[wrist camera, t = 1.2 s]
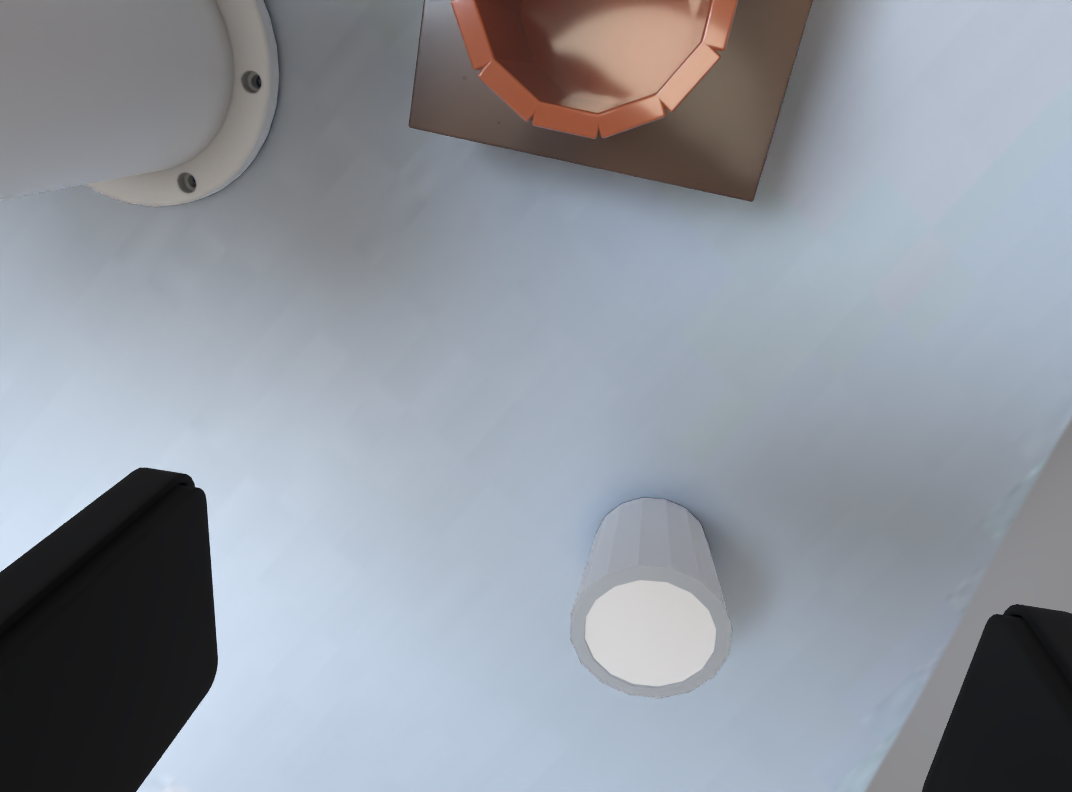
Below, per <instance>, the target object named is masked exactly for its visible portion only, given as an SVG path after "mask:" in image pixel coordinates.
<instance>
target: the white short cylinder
mask: <svg viewBox="0 0 1072 792" xmlns="http://www.w3.org/2000/svg"><path fill="white" fill-rule="evenodd" d="M731 635H732V626H731V623H730V619H729V616H728V612H727V609H726V605H725V602H724V598H723V595H722V591H721V588H720V584H719V581H718V577H717V574H716V570H715V567H714V563H713V560H712V556H711V553H710V549H709V546H708V542H707V539H706V537H705V534H704V531H703V529H702V526H701V523H700V522H699V521H698V520H697V519H696V518H695V517H694V516H693V515H692V514H691V513H690V512H689V511H688V510H687V509H686V508H684V507H682V506H680V505H677V504H675V503H673V502H671V501H668V500H666V499H656V498H639V499H636V500H632V501H629V502H625V503H622V504H620V505H619V506H618V507H616V508H615V509H614V510H613V511H611V512H610V513H609V514H607V515H606V516H605V518H604V519H603V521H602V523H601V525H600V527H599V529H598V531H597V532H596V535H595V539H594V542H593V545H592V548H591V551H590V554H589V558H588V561H587V564H586V567H585V570H584V574H583V577H582V580H581V583H580V586H579V589H578V593H577V596H576V599H575V602H574V605H573V609H572V612H571V629H570V640H571V642H572V644H573V646H574V649H575V651H576V653H577V655H578V658H579V660H580V662H581V664H582V665H583V666H584V667H586V668H587V669H588V670H589V671H590V672H591V673H592V674H593V675H594V676H595V677H596V678H597V679H598V680H599V681H601V682H602V683H603V684H606V685H608V686H610V687H613V688H615V689H617V690H619V691H622V692H624V693H626V694H628V695H634V696H643V697H653V698H664V697H669V696H674V695H678V694H683V693H688V692H691V691H692V690H694V689H696V688H697V687H699V686H700V685H702V684H704V683H705V682H707V681H708V680H710V679H712V678H713V677H714V676H715V675H716V673H717V672H718V670H719V669H720V667H721V666H722V664H723V663H724V662H725V660H726V659H727V657H728V656H729V651H730V643H731Z"/></svg>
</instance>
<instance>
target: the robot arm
mask: <svg viewBox="0 0 1072 792" xmlns="http://www.w3.org/2000/svg"><path fill="white" fill-rule="evenodd" d="M258 76H259V77H260V79H261V87H258V85H257V83H256V79H257V77H258ZM278 85H279V68H278V53H277V45H276V41H275V36H274V32H273V28H272V24H271V19H270V16H269V13H268V11H267V8H266V6H265V3H264V1H263V0H0V200H5V199H10V198H15V197H20V196H26V195H31V194H36V193H42V192H47V191H53V190H58V189H63V188H69V187H74V186H80V185H86V186H88V187H90V188H92V189H94V190H96V191H97V192H99V193H101V194H103V195H105V196H108V197H111V198H114V199H117V200H120V201H123V202H126V203H129V204H136V205H144V206H152V207H159V206H171V205H180V204H184V203H188V202H192V201H196V200H200V199H202V198H204V197H207V196H209V195H211V194H213V193H216V192H218V191H220V190H222V189H223V188H225V187H226V186H227V185H229V184H230V183H231V182H233V181H234V180H235V179H237V178H238V177H239V176H240V175H241V174H242V173H243V172H244V171H245V169H246V168H247V167H248V166H249V165H250V164H251V162H252V161H253V160H254V159H255V158H256V156H257V154H258V152H259V151H260V149H261V147H262V145H263V143H264V141H265V139H266V137H267V135H268V133H269V130H270V127H271V123H272V120H273V116H274V113H275V110H276V104H277V95H278ZM193 177H194V179H195V181H196V184H195V183H194V181H193ZM217 666H218V655H217V641H216V627H215V613H214V599H213V585H212V571H211V557H210V543H209V529H208V515H207V501H206V496H205V493H204V491H203V490H202V489H200V488H196V487H195V484H194V482H193V480H192V478H191V477H190V476H189V475H187V474H183V473H176V472H170V471H164V470H157V469H151V468H138V469H136V470H134V471H133V472H131V473H130V474H129V475H128V476H126V477H125V478H124V479H122V480H121V481H120V482H118V483H117V484H116V485H114V486H113V487H112V488H110V489H109V490H108V491H106V492H105V493H104V494H103V495H101V496H100V497H99V498H97V499H96V500H95V501H93V502H92V503H91V504H89V505H88V506H87V507H85V508H84V509H83V510H82V511H80V512H79V513H78V514H76V515H75V516H74V517H72V518H71V519H70V520H68V521H67V522H66V523H64V524H63V525H62V526H60V527H59V528H58V529H57V530H55V531H54V532H53V533H51V534H50V535H49V536H47V537H46V538H45V539H43V540H42V541H41V542H39V543H38V544H37V545H36V546H34V547H33V548H32V549H30V550H29V551H28V552H26V553H25V554H24V555H22V556H21V557H20V558H18V559H17V560H16V561H14V562H13V563H12V564H11V565H9V566H8V567H7V568H5V569H4V570H3V571H1V572H0V792H136V791H137V790H138V788H139V787H140V786H141V784H142V783H143V782H144V780H145V779H146V777H147V776H148V775H149V773H150V772H151V770H152V769H153V768H154V766H155V765H156V763H157V762H158V761H159V759H160V758H161V757H162V755H163V754H164V752H165V751H166V750H167V748H168V747H169V745H170V744H171V743H172V741H173V740H174V738H175V737H176V736H177V734H178V733H179V732H180V730H181V729H182V727H183V726H184V725H185V723H186V722H187V720H188V719H189V718H190V716H191V715H192V714H193V712H194V711H195V709H196V708H197V707H198V705H199V704H200V702H201V701H202V700H203V698H204V697H205V695H206V694H207V693H208V691H209V689H210V688H211V686H212V683H213V681H214V678H215V675H216V671H217ZM922 792H1072V614H1071V613H1068V612H1063V611H1056V610H1050V609H1044V608H1038V607H1032V606H1024V605H1018V604H1016V605H1012V606H1010V607H1009V608H1008V609H1007V610H1006V611H1005V612H1004V614H1003V615H999V614H996V615H993V616H992V617H990V618H989V620H988V621H987V624H986V625H985V628H984V630H983V633H982V636H981V638H980V641H979V643H978V646H977V649H976V651H975V654H974V656H973V659H972V661H971V664H970V667H969V669H968V672H967V674H966V677H965V679H964V682H963V685H962V687H961V690H960V693H959V695H958V698H957V700H956V703H955V705H954V708H953V710H952V713H951V716H950V718H949V721H948V723H947V726H946V728H945V731H944V734H943V736H942V739H941V741H940V744H939V747H938V749H937V752H936V754H935V757H934V760H933V762H932V765H931V767H930V770H929V772H928V775H927V777H926V780H925V783H924V786H923V790H922Z"/></svg>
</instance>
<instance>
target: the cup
mask: <svg viewBox="0 0 1072 792" xmlns="http://www.w3.org/2000/svg"><path fill="white" fill-rule="evenodd" d="M737 4H738V0H452V1H451V6H452V9H453V12H454V15H455V18H456V21H457V24H458V27H459V30H460V33H461V35H462V38H463V41H464V44H465V47H466V50H467V53H468V56H469V59H470V62H471V65H472V68H473V69H474V70H480V72H479V74H478V77H479V79H480V80H481V81H482V82H484V83H485V84H486V85H487V86H488V87H489V88H490V89H491V90H492V91H493V92H494V93H495V94H496V95H497V96H499V97H500V98H501V99H502V100H503V101H504V102H505V103H506V104H507V105H508V106H509V107H510V108H511V109H513V110H514V111H515V112H516V113H517V114H518V115H519V116H520V117H521V118H522V119H523V120H524V121H526V122H528V121H531V120H533V121H532V124H533V125H534V126H536V127H541V128H546V129H550V130H555V131H560V132H564V133H569V134H574V135H578V136H583V137H588V138H592V139H595V138H597V137H598V136H599V135H601V137H602V138H606V137H609V136H612V135H615V134H618V133H621V132H624V131H627V130H629V129H632V128H635V127H638V126H641V125H644V124H647V123H650V122H653V121H655V120H658V119H661V118H664V117H665V116H666V110H665V107H666V108H667V109H668V110H669V111H670V112H673V111H674V110H675V109H676V108H677V107H678V106H679V105H680V104H681V102H682V101H683V100H684V99H685V98H686V97H687V96H688V95H689V93H690V92H691V91H692V90H693V89H694V88H695V87H696V86H697V85H698V83H699V82H700V81H701V80H702V79H703V78H704V77H705V76H706V74H707V73H708V72H709V71H710V70H711V69H712V68H713V67H714V66H715V64H716V63H717V62H718V61H719V60H720V59H721V56H720V54H719V53H720V52H722V51H724V50H725V49H726V46H727V42H728V38H729V34H730V30H731V27H732V23H733V19H734V15H735V11H736V7H737ZM664 106H665V107H664Z"/></svg>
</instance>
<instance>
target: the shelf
mask: <svg viewBox="0 0 1072 792" xmlns="http://www.w3.org/2000/svg"><path fill="white" fill-rule="evenodd" d="M451 1H452V0H424V6H423V14H422V22H421V30H420V38H419V46H418V55H417V63H416V71H415V79H414V87H413V95H412V103H411V112H410V120H409V127H410V128H414V129H419V130H423V131H428V132H432V133H437V134H442V135H446V136H451V137H456V138H460V139H465V140H469V141H474V142H479V143H483V144H488V145H492V146H497V147H502V148H506V149H511V150H515V151H520V152H525V153H529V154H534V155H538V156H543V157H548V158H552V159H557V160H562V161H566V162H571V163H575V164H580V165H585V166H589V167H594V168H598V169H603V170H608V171H612V172H617V173H621V174H626V175H631V176H635V177H640V178H644V179H649V180H654V181H658V182H663V183H668V184H672V185H677V186H681V187H686V188H691V189H695V190H700V191H704V192H709V193H714V194H718V195H723V196H727V197H732V198H737V199H741V200H746V201H750V202H752V201H753V200H754V197H755V194H756V191H757V187H758V184H759V180H760V177H761V174H762V170H763V167H764V164H765V160H766V157H767V153H768V150H769V147H770V143H771V140H772V137H773V133H774V130H775V126H776V123H777V120H778V116H779V113H780V110H781V106H782V103H783V99H784V96H785V93H786V89H787V86H788V83H789V79H790V76H791V72H792V69H793V66H794V62H795V59H796V56H797V52H798V49H799V45H800V42H801V39H802V35H803V32H804V29H805V25H806V22H807V18H808V15H809V12H810V8H811V5H812V2H813V0H738V4H737V7H736V11H735V15H734V19H733V23H732V27H731V30H730V34H729V38H728V42H727V46H726V49H725V50H724V51H722V52H720V53H719V54H720V56H721V59H720V60H719V61H718V62H717V63H716V64H715V66H714V67H713V68H712V69H711V70H710V71H709V72H708V73H707V74H706V76H705V77H704V78H703V79H702V80H701V81H700V82H699V83H698V85H697V86H696V87H695V88H694V89H693V90H692V91H691V92H690V93H689V95H688V96H687V97H686V98H685V99H684V100H683V101H682V102H681V104H680V105H679V106H678V107H677V108H676V109H675V110H674V111H673V112H670V111H669V110H668V109H667V108H666V107H665V106H664V107H665V110H666V116H665V117H664V118H661V119H658V120H655V121H653V122H650V123H647V124H644V125H641V126H638V127H635V128H632V129H629V130H627V131H624V132H621V133H618V134H615V135H612V136H609V137H606V138H602V137H601V135H599V136H598V137H597V138H595V139H592V138H588V137H583V136H578V135H574V134H569V133H564V132H560V131H555V130H550V129H546V128H541V127H536V126H534V125H533V124H532V121H533V120H531V121H528V122H526V121H524V120H523V119H522V118H521V117H520V116H519V115H518V114H517V113H516V112H515V111H514V110H513V109H511V108H510V107H509V106H508V105H507V104H506V103H505V102H504V101H503V100H502V99H501V98H500V97H499V96H497V95H496V94H495V93H494V92H493V91H492V90H491V89H490V88H489V87H488V86H487V85H486V84H485V83H484V82H482V81H481V80H480V79H479V77H478V74H479V72H480V70H474V69H473V68H472V65H471V62H470V59H469V56H468V53H467V50H466V47H465V44H464V41H463V38H462V35H461V33H460V30H459V27H458V24H457V21H456V18H455V15H454V12H453V9H452V6H451Z"/></svg>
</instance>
